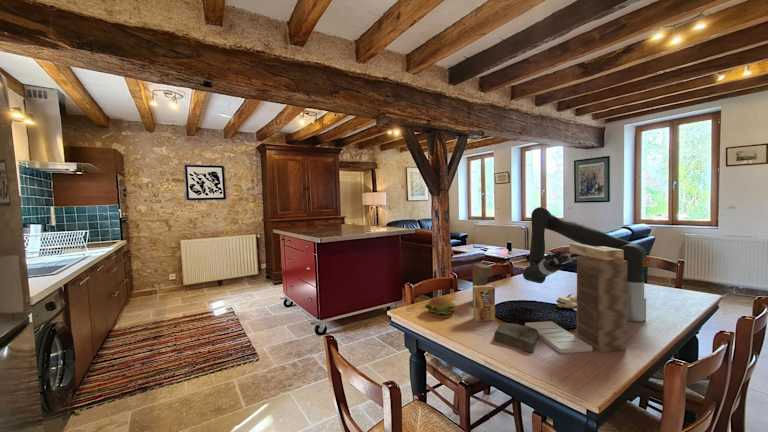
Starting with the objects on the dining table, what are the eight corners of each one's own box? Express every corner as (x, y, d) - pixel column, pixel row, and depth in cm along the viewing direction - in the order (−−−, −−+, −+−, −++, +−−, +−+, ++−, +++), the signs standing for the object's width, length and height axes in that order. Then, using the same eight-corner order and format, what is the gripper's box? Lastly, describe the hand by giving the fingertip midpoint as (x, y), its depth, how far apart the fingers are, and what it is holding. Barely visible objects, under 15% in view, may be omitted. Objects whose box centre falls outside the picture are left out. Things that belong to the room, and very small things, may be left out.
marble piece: (533, 354, 112) (533, 342, 112) (490, 345, 120) (490, 334, 120) (540, 336, 126) (540, 326, 126) (501, 329, 134) (501, 319, 134)
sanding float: (581, 251, 132) (581, 242, 132) (623, 261, 111) (623, 250, 111) (565, 252, 131) (565, 242, 131) (604, 262, 110) (604, 250, 110)
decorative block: (493, 305, 162) (492, 267, 161) (483, 306, 161) (482, 268, 160) (482, 299, 173) (481, 263, 172) (472, 300, 172) (472, 263, 171)
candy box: (491, 317, 147) (491, 284, 146) (495, 320, 143) (495, 287, 142) (473, 318, 147) (472, 285, 146) (476, 321, 142) (475, 287, 142)
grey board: (551, 324, 137) (551, 321, 137) (592, 351, 113) (592, 346, 113) (524, 326, 136) (524, 322, 136) (560, 353, 112) (560, 348, 112)
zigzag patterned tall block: (600, 335, 125) (601, 255, 123) (626, 350, 113) (627, 261, 111) (576, 337, 124) (576, 256, 122) (599, 352, 112) (600, 262, 110)
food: (440, 307, 163) (439, 291, 163) (460, 314, 151) (460, 298, 151) (419, 312, 155) (419, 296, 155) (439, 321, 144) (439, 304, 143)
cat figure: (589, 302, 168) (549, 303, 161) (590, 286, 167) (551, 286, 161) (606, 308, 158) (565, 310, 152) (608, 291, 158) (566, 292, 152)
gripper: (533, 257, 149) (551, 244, 135) (562, 256, 150) (583, 243, 136) (538, 273, 146) (557, 261, 131) (567, 271, 147) (589, 260, 132)
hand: (570, 252), depth 134 cm, fingers open, 8 cm apart
